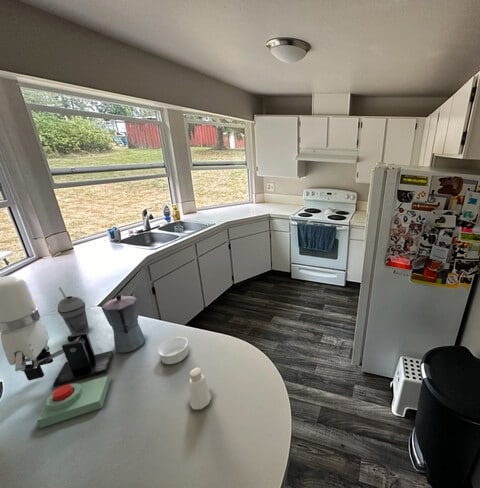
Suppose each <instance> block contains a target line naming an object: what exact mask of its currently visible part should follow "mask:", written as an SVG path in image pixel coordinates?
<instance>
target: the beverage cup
mask: <svg viewBox="0 0 480 488" xmlns="http://www.w3.org/2000/svg"><path fill="white" fill-rule="evenodd" d="M58 290H59V292H60V293H61V295H62V297H63V298H62V299H61V300H60V301H59V302H58V303H57V313H58V314H59V315H60V317H62V319H63V321H64V323H65V324H66V327H67V328H68V330H69V332H70V334H71V335H75V334H80V333H85V332H87V334H88V333H89V332H90V326H89V322H88V316H87V311H86V302H85V301H84V299H83V298H81V297H79V296H77V295H76V296H75V295H69V296H67V295H66V294H65V292H64V291H63V289H62V288H61V287H60V286H59V287H58Z"/></svg>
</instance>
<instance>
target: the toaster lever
mask: <svg viewBox="0 0 480 488" xmlns="http://www.w3.org/2000/svg"><path fill="white" fill-rule="evenodd" d="M81 340H83V339H82V338H81V337H78V338H76V339H74V340H72V341H70V342H68V343H72V342H76V341H81ZM83 343H85V340H83ZM50 354H51V353H50ZM62 354H64V351H63V349H62V348H61V349H59V350H57V351H55V352H54V353H52V354H51V355H49V356H48V357H46V358H45V356H41V357H40V358H39V360H38V361H37V364H38V365H41V366H43V365H42V364H44V363H46V362H47V361H49V360H51V359H53V360H54V359H55V358H57V357H59V356H61V355H62Z"/></svg>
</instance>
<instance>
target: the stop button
mask: <svg viewBox="0 0 480 488" xmlns="http://www.w3.org/2000/svg"><path fill="white" fill-rule="evenodd" d="M52 393H53V394H52ZM52 393H51V394H52V395H53V398H54V400H55V401H61V400H64V399H66V398H68V397H69V396H70V395H72V393H73V388H72V386H71V385H69V384H63V385H60V386H58V388H56V389H55V390H54V392H53V391H52Z"/></svg>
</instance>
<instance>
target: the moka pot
mask: <svg viewBox="0 0 480 488" xmlns="http://www.w3.org/2000/svg"><path fill="white" fill-rule="evenodd" d="M114 297H115V298H112V299H111V300H108V301H106V302H105V303H104V304H103V305H102V306H101V310H102V312H103V314H104V316H105V319H106V320H107V323H108V324H109V326H110V327H111V328H112V331H113V342H114V343H113V344H114V351H115V353H119V354H124V353H129V352H133V351H134V350H137V349H139V348H140V347H141V346H143V345H144V344H145V342H146V337H145V335H144V333H143V331H142V327H141V325H140V324H139V319H138V318H139V305H138V298H136V297H134V296H132V295H126V296H125V295H121V294H116V295H115V296H114Z"/></svg>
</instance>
